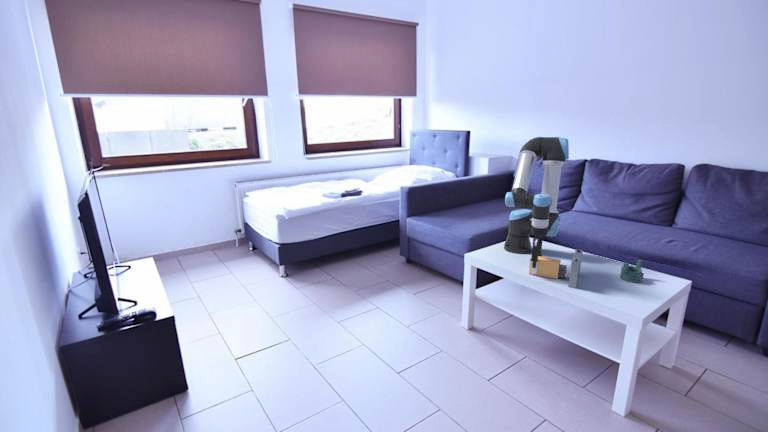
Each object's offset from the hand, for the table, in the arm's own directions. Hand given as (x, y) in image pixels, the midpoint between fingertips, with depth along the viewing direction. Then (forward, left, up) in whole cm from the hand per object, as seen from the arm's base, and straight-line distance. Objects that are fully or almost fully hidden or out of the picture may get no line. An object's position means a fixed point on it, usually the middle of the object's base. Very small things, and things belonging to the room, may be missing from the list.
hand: (534, 271), depth 192 cm
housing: (0, +18, -1) cm, 18 cm away
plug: (0, +6, -1) cm, 6 cm away
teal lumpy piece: (-15, +41, -1) cm, 43 cm away
